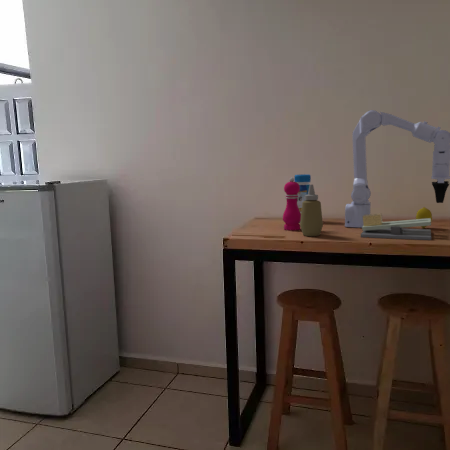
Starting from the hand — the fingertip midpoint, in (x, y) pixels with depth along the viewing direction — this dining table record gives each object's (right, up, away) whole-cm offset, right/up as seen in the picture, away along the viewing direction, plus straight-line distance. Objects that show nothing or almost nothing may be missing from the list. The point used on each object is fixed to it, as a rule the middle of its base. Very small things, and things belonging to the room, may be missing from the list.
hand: (439, 201), depth 167 cm
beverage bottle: (-45, -7, +30) cm, 54 cm away
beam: (-18, -10, -8) cm, 22 cm away
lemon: (-4, -10, +4) cm, 11 cm away
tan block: (-26, -8, -5) cm, 28 cm away
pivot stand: (-19, -12, -7) cm, 23 cm away
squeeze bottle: (-47, -12, -4) cm, 49 cm away
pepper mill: (-52, -10, +10) cm, 54 cm away
